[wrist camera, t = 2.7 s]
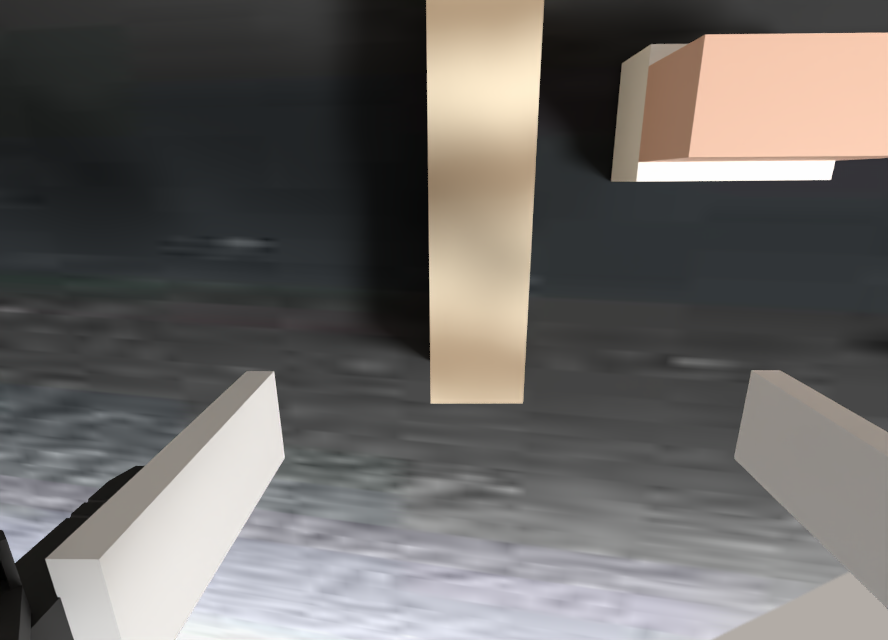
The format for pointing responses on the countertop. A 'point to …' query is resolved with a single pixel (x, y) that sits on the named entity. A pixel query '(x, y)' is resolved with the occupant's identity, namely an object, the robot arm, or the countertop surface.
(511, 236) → the bar
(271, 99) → the countertop surface
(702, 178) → the block
